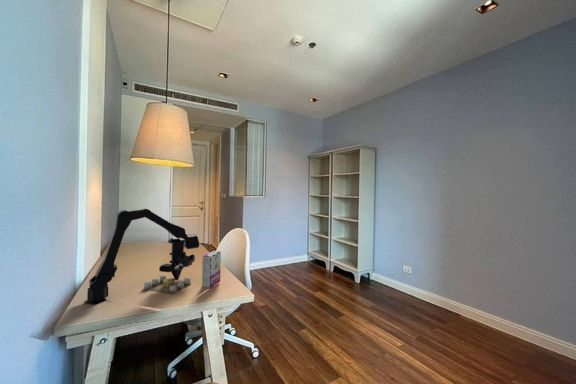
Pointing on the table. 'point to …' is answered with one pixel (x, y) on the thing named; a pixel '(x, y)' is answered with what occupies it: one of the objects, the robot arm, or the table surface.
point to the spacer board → (173, 289)
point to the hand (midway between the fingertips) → (176, 280)
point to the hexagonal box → (168, 282)
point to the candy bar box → (211, 269)
